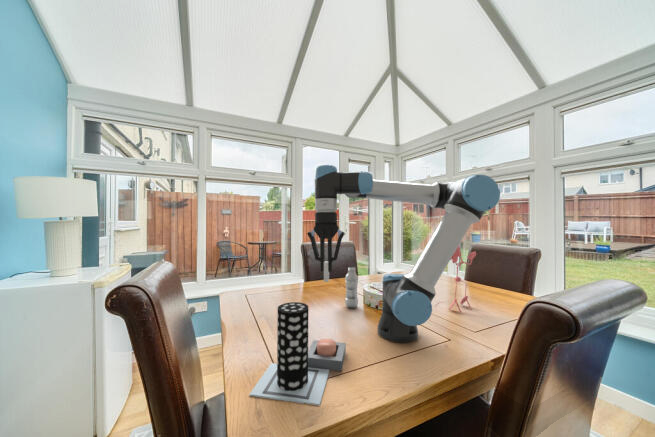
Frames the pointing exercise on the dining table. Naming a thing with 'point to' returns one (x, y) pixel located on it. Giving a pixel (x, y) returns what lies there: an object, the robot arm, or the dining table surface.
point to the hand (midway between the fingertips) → (326, 280)
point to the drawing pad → (307, 394)
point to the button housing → (326, 357)
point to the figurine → (457, 279)
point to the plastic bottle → (351, 288)
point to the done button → (326, 347)
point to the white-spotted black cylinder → (292, 346)
